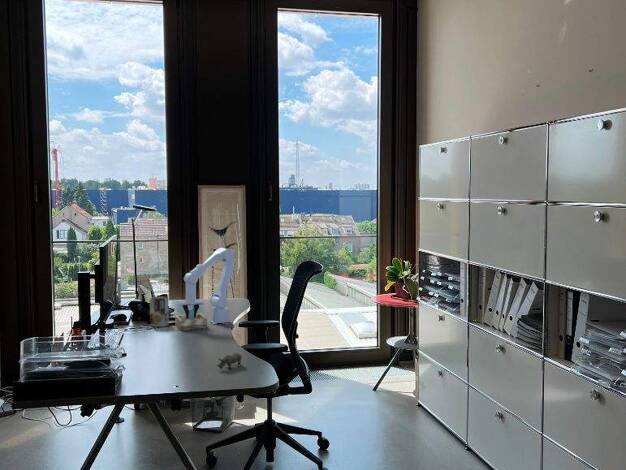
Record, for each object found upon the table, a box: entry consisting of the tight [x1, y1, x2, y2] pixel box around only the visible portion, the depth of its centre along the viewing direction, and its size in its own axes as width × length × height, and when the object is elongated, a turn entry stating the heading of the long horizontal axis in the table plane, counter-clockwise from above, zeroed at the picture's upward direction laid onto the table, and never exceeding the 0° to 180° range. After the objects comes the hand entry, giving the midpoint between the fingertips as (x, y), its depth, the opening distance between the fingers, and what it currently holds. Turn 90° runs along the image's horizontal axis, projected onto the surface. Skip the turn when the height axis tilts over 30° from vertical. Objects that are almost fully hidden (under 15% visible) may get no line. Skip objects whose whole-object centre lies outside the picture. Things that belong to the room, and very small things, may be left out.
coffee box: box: [149, 296, 170, 327], centre depth 335 cm, size 9×6×16 cm
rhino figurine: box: [216, 352, 243, 370], centre depth 254 cm, size 4×14×6 cm, turn 138°
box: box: [174, 313, 208, 332], centre depth 332 cm, size 15×15×6 cm
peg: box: [188, 308, 194, 320], centre depth 332 cm, size 4×4×7 cm
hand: (190, 317), depth 332 cm, fingers closed on peg, 4 cm apart
